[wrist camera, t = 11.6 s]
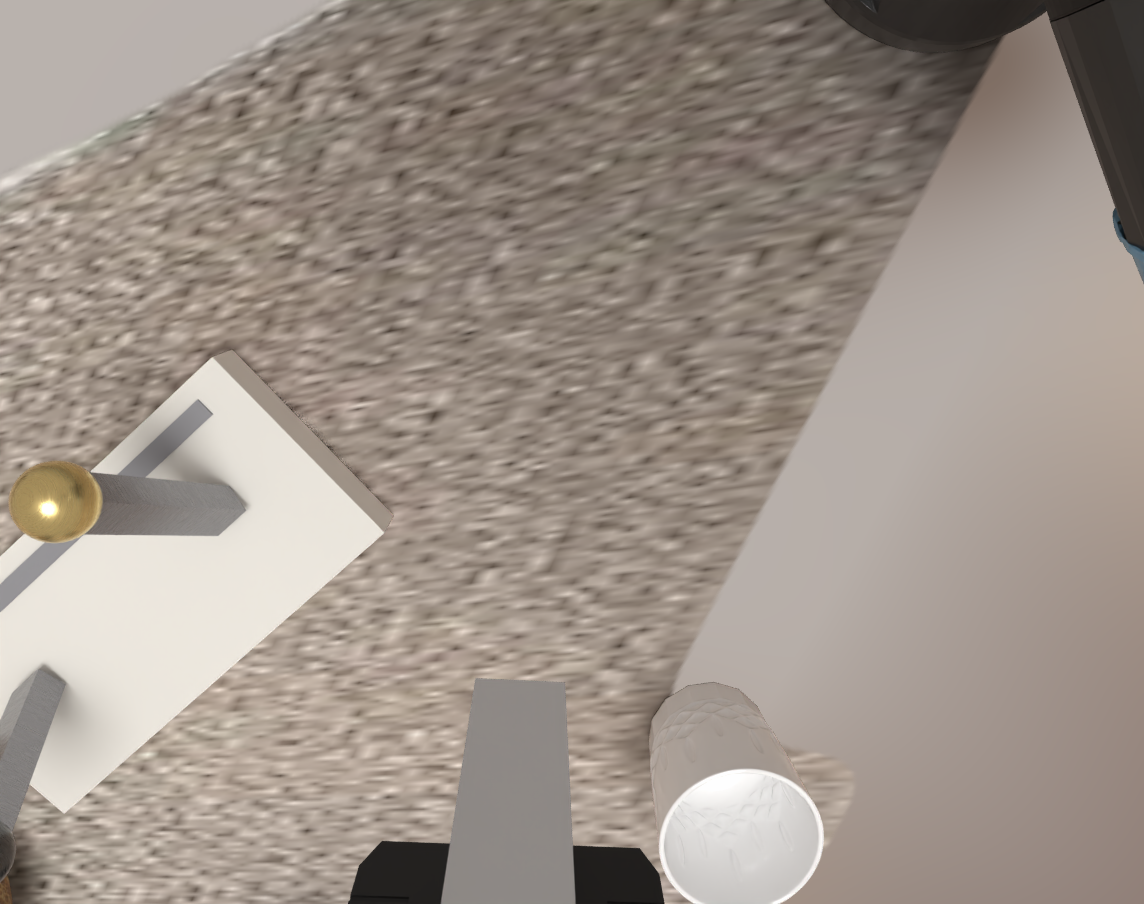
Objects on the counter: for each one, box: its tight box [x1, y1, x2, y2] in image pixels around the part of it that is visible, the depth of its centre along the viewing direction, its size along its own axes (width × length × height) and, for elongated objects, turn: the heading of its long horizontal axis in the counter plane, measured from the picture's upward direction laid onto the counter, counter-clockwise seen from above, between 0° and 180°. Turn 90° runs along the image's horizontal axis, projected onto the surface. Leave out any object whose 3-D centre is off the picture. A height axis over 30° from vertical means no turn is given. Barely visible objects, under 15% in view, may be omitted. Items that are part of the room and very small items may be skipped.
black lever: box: [0, 669, 66, 882], centre depth 43 cm, size 3×3×12 cm
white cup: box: [649, 682, 824, 904], centre depth 49 cm, size 8×8×10 cm
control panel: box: [0, 350, 394, 813], centre depth 49 cm, size 12×24×3 cm, turn 131°
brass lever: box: [9, 461, 246, 543], centre depth 41 cm, size 3×3×12 cm
